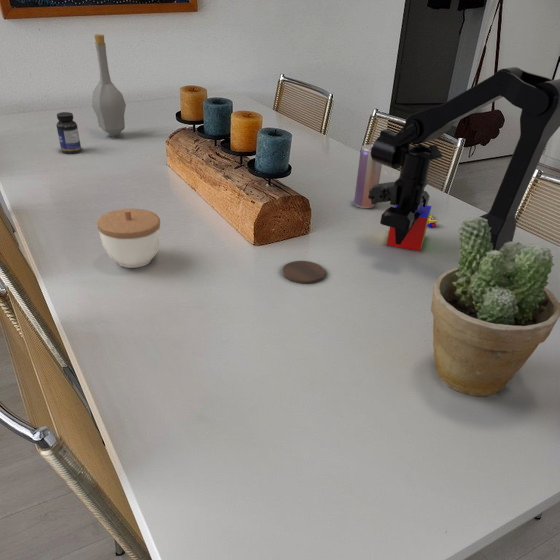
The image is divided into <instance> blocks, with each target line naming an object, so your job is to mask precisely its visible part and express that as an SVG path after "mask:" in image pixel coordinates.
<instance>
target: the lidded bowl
mask: <svg viewBox="0 0 560 560" xmlns="http://www.w3.org/2000/svg"><path fill="white" fill-rule="evenodd" d="M96 226H97V230H98V232H99V237H100V241H101V244H102V246H103V248H104V251H105V252H106V254H107V255H108V256H109V257H110V258H111V260H113V261H115V262H116V263H117V264H118V266H121V267H122V268H128V269H136V268H137V269H138V268H142V267H146V266H147V265H149V264H150V263H151V262H152V259H154V257H155V256H156V255H157V253H158V251H159V249H160V246H161V219H160V216H159V215H158V214H157V213H155V212H153V211H151V210H147V209H144V208H122V209H121V208H120V209H116V210H112V211H109V212H106V213H104V214H102V215H101V216H100V217H99V218H98V219H97V222H96Z"/></svg>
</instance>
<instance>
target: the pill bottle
mask: <svg viewBox="0 0 560 560" xmlns="http://www.w3.org/2000/svg"><path fill="white" fill-rule="evenodd" d="M56 119H57V120H58V121H57V123H56V124H55V125H56V131H57V136H58V140H59V145H60V151H61V152H62V153H64V154H68V155H69V154H70V155H71V154H72V155H73V154H77V153H78V154H79V153H80V152H81V151H82V145H81V140H80V133H79V129H78V127H79V126H78V123H77V122H76V121H75V120H74V114H73V112H69V111H62V112H57V114H56Z"/></svg>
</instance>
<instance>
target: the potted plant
mask: <svg viewBox="0 0 560 560" xmlns="http://www.w3.org/2000/svg"><path fill="white" fill-rule="evenodd" d="M487 221H488V220H486V219H484V218H482V217H480V216H477V217H470V218H467V219H465V220H463V221H461V222H460V225H461V227H460V228H458V233H459V235H458V236H459V237H458V239H459V243H460V248H459V249H458V251H459V253H460V256H459V260H458V261H457V263H458V264H459V265H458V266H457V267H454V268H451V269H449V270H447V271H445V272H443V273H441V274H440V275H439V277H438V278H437V279H436V280H435V282H434V285H433V289H432V290H433V291H432V299H431V303H430V312H431V314H432V317H433V323H432V324H433V325H432V345H433V357H434V365H435V371H436V373H437V376H438V378H439V379H440V381H441V382H442V383H443V384H444V385H445V386H446V387H448V388H449V389H452V390H453V391H457V392H458V393H461V394H464V395H469V396H473V397H474V396H475V397H491V396H493V395H495V394H499V393H500V392H501V391H502V390H503V389H504V388H505V386H506V385H507V384H508V383H509V382H510V381H511V380H512V379H513V377H514V376H515V375H516V374H517V373H518V372H519V371H520V370H521V369H522V368H523V366H524V365H525V364H526V362H527V361H528V359H529V358H530V357H531V356H532V355H533V353H534V352H535V351H536V349H538V347H539V345H540V344H542V343H544V342H545V341H546V340H547V339H548V338H549V336H550V335H551V333H552V331H553V329H554V327H555V325H556V324H557V322H558V320H559V318H560V301H559V300H558V299H557V297H556V296H555V295H554V293H553V292H552V291H550V290H549V288H547V285H549V282H548V280H549V276H548V275H549V274H551V273H552V267H554V265H555V263H553V258H554V257H555V255H554V254H552V253H551V252H552V250H551V249H550V247H548V246H543V245H542V244H541V243H532V244H529V245H525V244H522V243H521V242H520V241H518V240H513V241H512V242H507V243H504V245H503V247H502V248H500V249H499V251H497V250H493V246H492V245H493V244H492V243H490V241H491V240H490V239H491V236H490V235H491V233H490V232H489V231H490V229H491V228H489V226H488V223H487Z"/></svg>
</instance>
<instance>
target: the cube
mask: <svg viewBox="0 0 560 560" xmlns="http://www.w3.org/2000/svg"><path fill="white" fill-rule="evenodd" d="M394 207H395V208H397V205H395V206H394ZM431 210H432V205H428V204H427V206H426V207H423V203H422V204H421V206H420V207H419V208H418V210H415V211H416V212H418V213H421V215H420V216H419V218H418V219H417V221H416V222H415V224H414V225H413V227H412V228H411V229H410V231H409V232H408V234H407V235H406V237H405V238H404V240H403V241H402V243H401V244H400V245H398V244H396V240H395V228H394V227H390V226H389V229H388V235H387V240H386V246H390V247H395V248H400V249H406V250H413V251H417V252H421V251H422V247H423V244H424V241H425V236H426V233H427V228H428V226H427V224H428V219H429V216H430V215H431Z"/></svg>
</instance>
